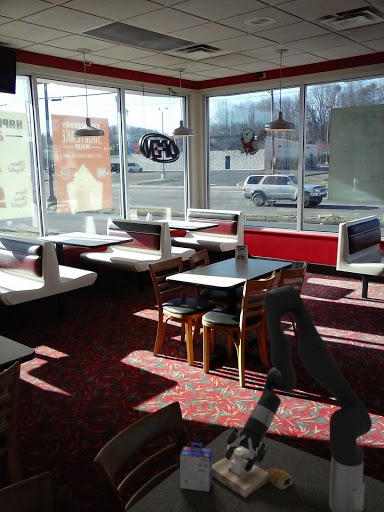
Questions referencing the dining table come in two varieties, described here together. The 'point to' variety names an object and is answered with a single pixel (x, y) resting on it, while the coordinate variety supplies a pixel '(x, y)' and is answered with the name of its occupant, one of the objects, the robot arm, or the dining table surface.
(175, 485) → the dining table surface
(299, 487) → the dining table surface
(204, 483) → the ink cartridge box
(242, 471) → the salt shaker
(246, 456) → the white dome
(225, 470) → the socket block
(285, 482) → the pastry
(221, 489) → the dining table surface
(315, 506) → the dining table surface
